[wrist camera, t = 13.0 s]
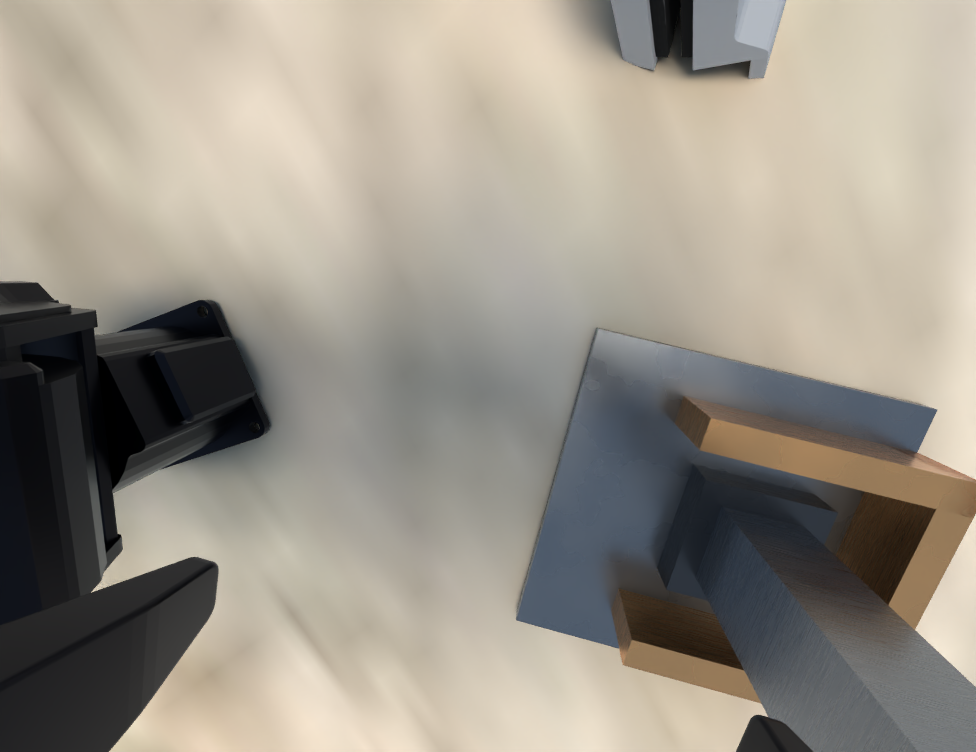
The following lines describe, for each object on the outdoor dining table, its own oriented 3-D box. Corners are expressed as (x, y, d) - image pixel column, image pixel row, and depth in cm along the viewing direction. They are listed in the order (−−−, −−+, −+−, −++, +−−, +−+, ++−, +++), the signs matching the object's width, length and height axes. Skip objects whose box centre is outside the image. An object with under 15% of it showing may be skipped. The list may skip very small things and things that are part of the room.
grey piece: (657, 567, 20) (854, 1049, 8) (693, 464, 19) (995, 829, 6) (771, 597, 20) (1172, 1149, 7) (815, 494, 19) (1380, 937, 6)
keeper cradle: (516, 611, 22) (512, 673, 19) (597, 327, 19) (609, 339, 15) (793, 686, 21) (842, 767, 18) (924, 405, 18) (1016, 435, 15)
